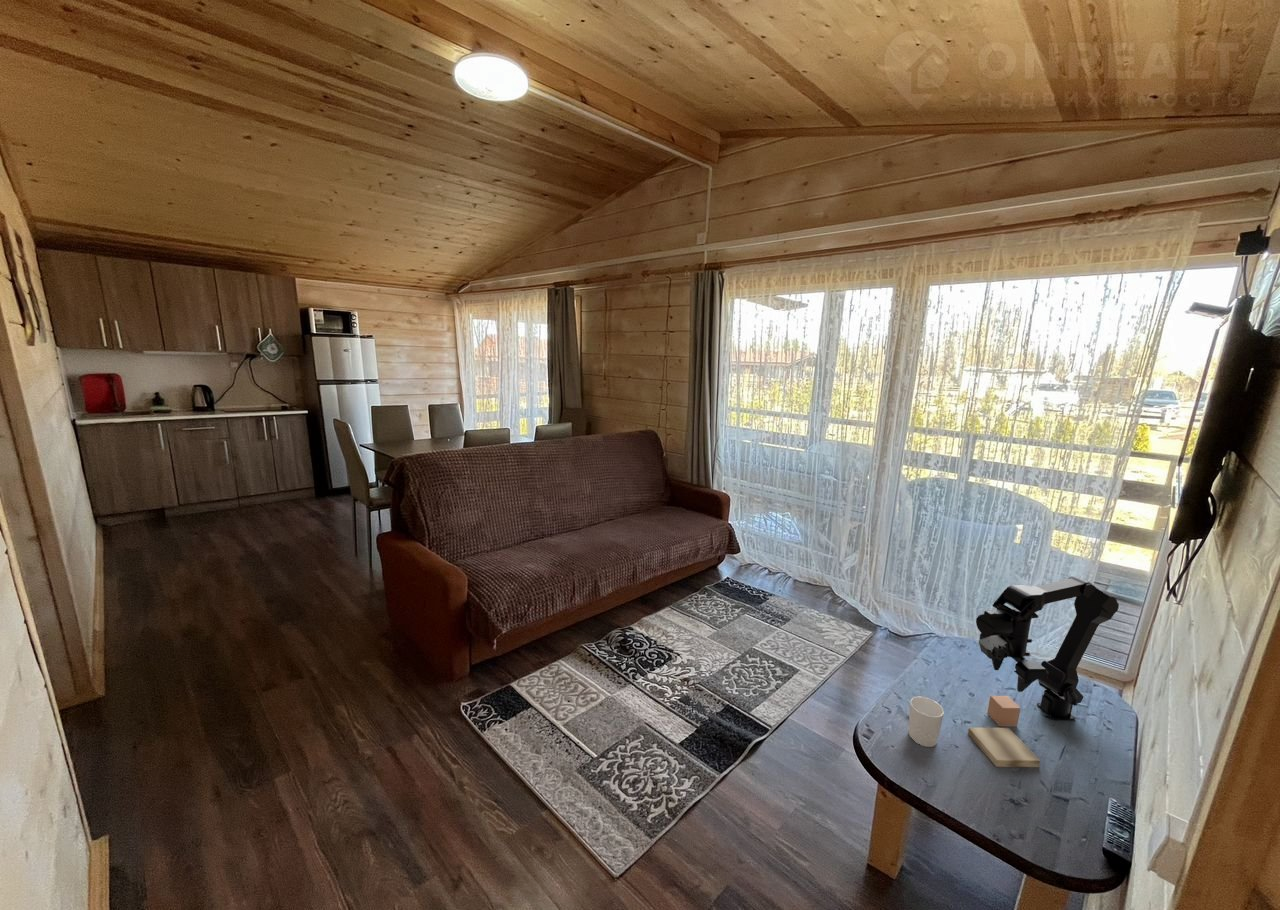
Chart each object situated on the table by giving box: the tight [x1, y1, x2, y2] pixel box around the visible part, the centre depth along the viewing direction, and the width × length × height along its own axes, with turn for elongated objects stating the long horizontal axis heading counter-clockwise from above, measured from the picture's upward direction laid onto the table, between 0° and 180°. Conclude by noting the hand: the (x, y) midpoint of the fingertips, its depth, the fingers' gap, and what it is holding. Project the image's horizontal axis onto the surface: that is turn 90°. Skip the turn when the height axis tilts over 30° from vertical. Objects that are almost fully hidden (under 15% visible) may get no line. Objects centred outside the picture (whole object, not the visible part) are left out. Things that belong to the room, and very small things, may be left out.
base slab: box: [967, 727, 1041, 768], centre depth 129 cm, size 11×11×2 cm
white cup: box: [908, 696, 945, 748], centre depth 132 cm, size 8×8×10 cm
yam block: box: [987, 695, 1021, 727], centre depth 139 cm, size 5×5×6 cm
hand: (1007, 680), depth 138 cm, fingers open, 9 cm apart
